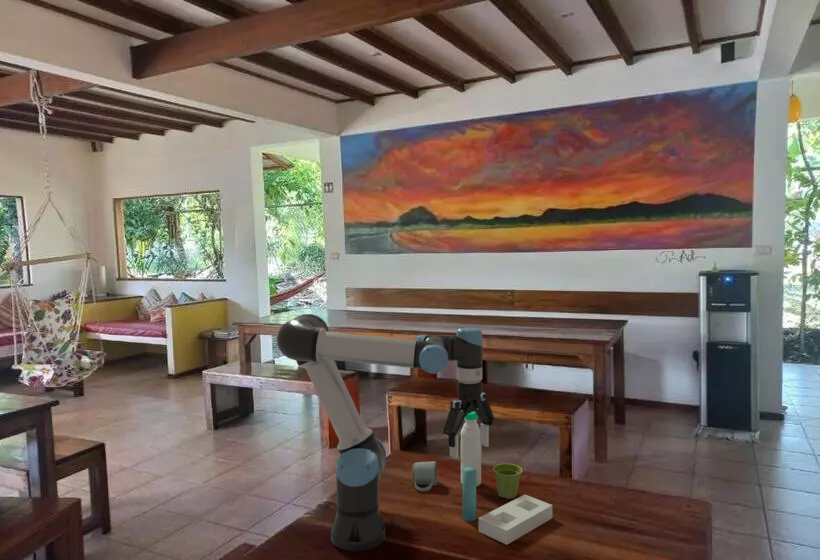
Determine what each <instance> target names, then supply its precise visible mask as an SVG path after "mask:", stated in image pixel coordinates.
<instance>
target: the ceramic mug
mask: <svg viewBox="0 0 820 560" xmlns="http://www.w3.org/2000/svg"><path fill="white" fill-rule="evenodd" d="M411 479H412V483H413V484H414V487H415V489H416V490H417V491H418V492H422V493H425V492H428V491H430V490H431V489H432V487H433V486H436V485H437V481H438V466H437V462H436V461H420V462H419V461H418V462H413V464H412V468H411ZM418 485H423V486H425V485H426V487H420V486H418Z"/></svg>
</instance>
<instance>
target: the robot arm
mask: <svg viewBox="0 0 820 560" xmlns="http://www.w3.org/2000/svg"><path fill="white" fill-rule="evenodd" d="M483 341H484V340H483V332H482V330H481V329H480V328H478V327H460V328H458V329H457V330H456V334H452V335H451V334H450V335H449V334H448V335H446V334H444V335H443V334H442V335H441V334H421V335H418V336H417V337H416V340H412V339H403V338H393V337H384V336H373V335H372V336H371V335H363V334H362V335H361V334H353V333H352V334H351V333H345V332H344V333H342V332H333V331H332V332H331V331H330V329H329V326H328V324H327V322H326V321H325V320H324V318H322V317H320V316H319V315H317V314H314V313H313V314H312V313H305V314H304V313H303V314H301V315H297V316H296V317H294V318H292V319H290V320H288V321H287V322H285V323H283V325H282V326H281V327H280V328H279V330H278V333H277V337H276V345H277V347H278V349H279V351H280V353H281V354H282V355H283V356H284V357H286V358H288V359H290V360H293V361H295V362H296V364H297V366H298V367H299V368H303V369H304V370H306V372H307V373H306V374H307V375H308V376H309V379H310V381H311V383H312V385H313V387H314V391H316V394H317V396H318V398H319V400H320V403H321V405H322V406H323V408H324V411H325V413H326V414H327V417H328V419H329V422H330V423H331V426H332V427H333V430H334V432H335V434H336V436H337V439H338V444H337V447H336V449H337V450H338V453H339V456H338V458H337V461H336V467H335V475H336V478H335V480H336V514H335V519H334V521H333V525H332V527H331V530H330V538H331V539H330V541H331V543H332V544H333V546H334V547H336V548H338V549H340V550H342V551H347V552H364V551H368V550H372V549H375V548H377V547H379V546H380V545H381V544H382V543H383V542H384V541H385V540H386V527H385V524H384V521H383V518H382V514H381V511H380V508H379V507H380V505H379V502H380V501H379V500H380V499H379V498H380V497H379V493H380V492H379V491H380V490H379V483H380V480H381V476H382V474H383V471H384V469H385V466H386V463H387V454H386V448H385V446H384V444H383V443H382V441H381V440H380V439H378V438H377V437H376V435H375V433H374V432H373V429H371V428H368V427H366V426H365V424H364V422H363V419H362V418H361V415H360V413H359V411H358V408H357V407H356V405H355V402H354V400H353V398H352V397H351V394H350V392H349V390H348V388H347V385H346V383H345V381H344V379H343V377H342V374H341V372H340V371H339V369H338V366H337V364H336V362H335V361H340V362H350V363H357V364H358V363H359V364H370V365H380V366H391V367H398V368H399V367H400V368H409V369H417V370H423V371H424V372H425V373H428V374H439V373H440V372H442V371H443V370H444V369H445V367H446V366H447V365H448V362H449V361H450V362H454V361H455V362H456V380H457V381H456V393H457V395H458V400H455V399H452V400H450V409H449V412H448V415H447V417H446V421H445V424H444V428H443V431H442V433H443V434H444V435H446V436H448V447H449V457H451V458H453V459H456V460H457V459H459V435H457V434H458V432H459V430H460V428H461V426H462V424H463V422H464V421H465V420H464V418H465V416H467V415H468V413H471V412H476V414H477V415H478V419H479V420H480V421H481V422H482V423H480V424H479V428H480V445H481V446H484V447H488V448H489V447H490V446H489V441H490V437H489V436H490V426H493V423H494V421H495V416H494V413H493V411H492V408H491V405H490V403H489V397H488V393H487V392H483V382H482V380H483V362H484V361H483V355H484V354H483V352H484V351H483V350H484V348H483V347H484V343H483Z"/></svg>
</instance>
